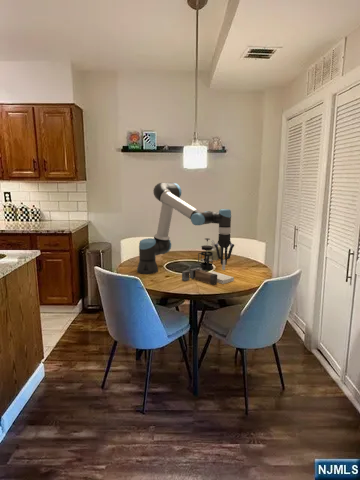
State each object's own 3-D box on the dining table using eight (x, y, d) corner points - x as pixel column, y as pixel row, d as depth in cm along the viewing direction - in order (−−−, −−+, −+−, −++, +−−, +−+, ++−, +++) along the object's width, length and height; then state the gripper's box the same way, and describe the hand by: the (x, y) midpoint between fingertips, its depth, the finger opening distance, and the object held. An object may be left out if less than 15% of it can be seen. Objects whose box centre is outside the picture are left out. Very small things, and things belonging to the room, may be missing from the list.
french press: (211, 266, 251) (212, 237, 247) (214, 269, 242) (215, 239, 238) (197, 266, 249) (197, 237, 245) (199, 270, 240) (200, 239, 236)
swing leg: (212, 285, 205) (213, 275, 204) (195, 279, 217) (195, 270, 216) (216, 283, 208) (217, 274, 206) (199, 277, 220) (199, 269, 219)
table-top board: (222, 284, 208) (222, 280, 208) (201, 277, 222) (202, 273, 222) (233, 280, 215) (233, 277, 215) (212, 274, 229) (213, 271, 229)
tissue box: (210, 255, 290) (210, 237, 287) (220, 256, 287) (221, 238, 284) (205, 259, 272) (205, 241, 270) (216, 260, 269) (217, 242, 267)
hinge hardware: (188, 282, 211) (188, 271, 209) (181, 279, 216) (181, 269, 214) (205, 277, 221) (205, 267, 220) (198, 275, 226) (198, 265, 225)
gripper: (233, 232, 209) (232, 267, 213) (213, 232, 208) (212, 268, 212) (236, 234, 202) (234, 270, 206) (215, 234, 201) (214, 271, 205)
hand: (223, 269), depth 209 cm, fingers closed
